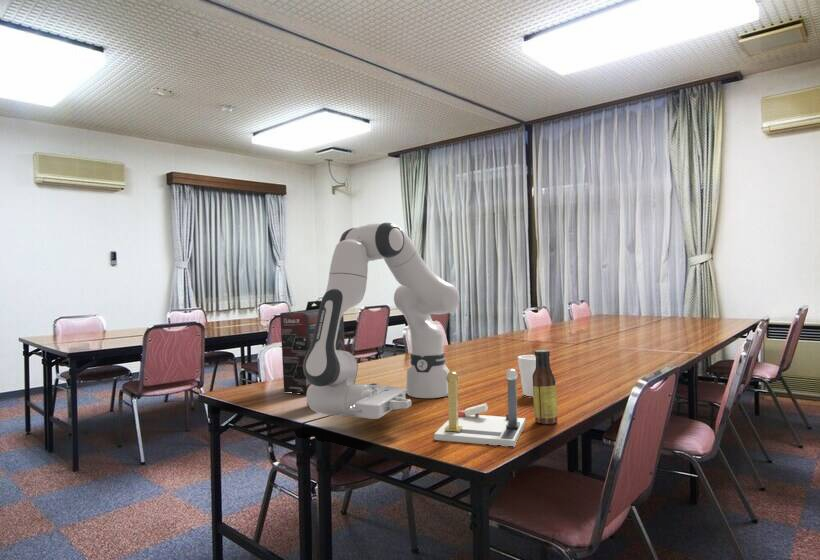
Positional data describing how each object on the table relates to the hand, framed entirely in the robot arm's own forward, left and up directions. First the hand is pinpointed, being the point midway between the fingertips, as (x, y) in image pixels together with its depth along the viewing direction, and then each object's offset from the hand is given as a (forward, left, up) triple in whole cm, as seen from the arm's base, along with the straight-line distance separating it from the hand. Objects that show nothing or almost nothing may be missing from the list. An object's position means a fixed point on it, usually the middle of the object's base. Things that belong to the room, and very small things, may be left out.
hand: (409, 404), depth 135 cm
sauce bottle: (-19, +33, -8) cm, 39 cm away
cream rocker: (-13, +15, -5) cm, 21 cm away
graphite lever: (-7, +26, -6) cm, 27 cm away
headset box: (-43, -54, -8) cm, 70 cm away
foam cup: (-50, +26, -8) cm, 57 cm away
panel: (-6, +18, -8) cm, 20 cm away
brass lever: (0, +12, -6) cm, 13 cm away
